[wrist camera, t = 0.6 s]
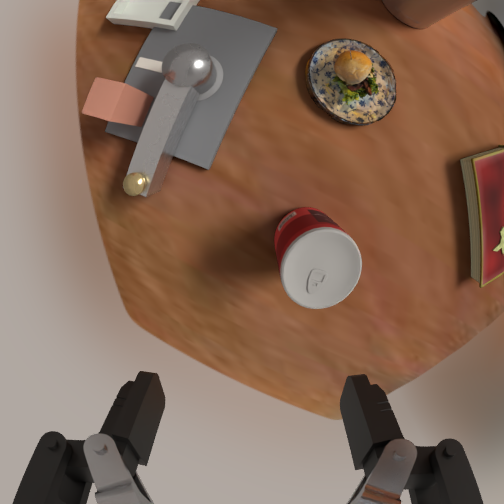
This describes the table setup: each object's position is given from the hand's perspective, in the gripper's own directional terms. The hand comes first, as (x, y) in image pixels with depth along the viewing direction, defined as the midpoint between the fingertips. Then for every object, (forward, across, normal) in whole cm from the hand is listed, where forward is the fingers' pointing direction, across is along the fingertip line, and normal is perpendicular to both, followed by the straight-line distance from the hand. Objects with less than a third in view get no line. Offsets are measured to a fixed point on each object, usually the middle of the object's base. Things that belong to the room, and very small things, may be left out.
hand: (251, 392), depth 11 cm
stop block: (+25, +15, -16) cm, 33 cm away
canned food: (+26, -6, +1) cm, 27 cm away
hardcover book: (+26, -39, -4) cm, 47 cm away
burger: (+26, -12, -19) cm, 35 cm away
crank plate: (+26, +8, -20) cm, 33 cm away
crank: (+24, +9, -13) cm, 29 cm away
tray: (+26, +12, -34) cm, 44 cm away
